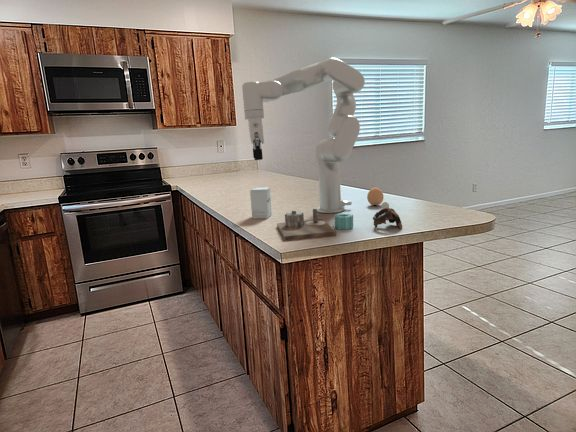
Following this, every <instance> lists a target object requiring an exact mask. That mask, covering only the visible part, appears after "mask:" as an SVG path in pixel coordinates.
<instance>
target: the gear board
mask: <svg viewBox="0 0 576 432" xmlns="http://www.w3.org/2000/svg"><path fill="white" fill-rule="evenodd" d="M276 227H277V229H278V231H279V233H280V234H281V236H282V238H283V240H284V241H285V242H287V241H294V240H304V239H313V238H324V237H335V236H337V235H336V234H337V232H336V230H335V229H334V228H333V227H331V226H330V224H328V223H327V222H326V221H325V220H324V219H322V218H319V219H318V212H317V208H312V219H308V220H305V219H304V212H301V211H297V210H292V211H290V212H286V213H285V214H284V222H277V223H276Z"/></svg>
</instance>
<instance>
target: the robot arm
mask: <svg viewBox="0 0 576 432" xmlns="http://www.w3.org/2000/svg"><path fill="white" fill-rule="evenodd" d="M331 81H332V90H333V92H334V94H335V98H336V104H335V105H336V106H335V108H334V111H333V113H332V115H331V118H330V121H329V122H328V125H327V134H328V135H329V137H331V138H326V139H322V140H320V141H319V142H318V143H317V145H316V146H315V157H316V162H317V170H318V172H317V173H318V194H319V195H318V196H319V199H318V201H319V206H318V207H316V209H317V213H320V214H321V213H324V214H336V213H337V214H338V213H341V212H344V211H345V209H346V208H345V207H346V206H351V205H352V200H343V199H342V198H341V197H342V195H341V192H342V191H341V168H340V165H339V163H342V162H345V161H346V160H347V159H349V157H350V155H351V153H352V151H353V148H354V146H355V144H356V142H357V139H358V138H359V135H360V128H361V127H360V121H359V120H358V118H357V117H356V116H354V115H355V113H356V109H357V101H356V99H355V96H354V94H355V93H359V92H360V91H361V90H363V88H364V86H365V82H366V81H365V77H364V75H363V74H362V73H361V71H359V70H358V69H356V68H355V67H353V66H351V65H349V64H348V63H346V62H345V61H343V60H341V59H339V58H336V57H329V58H327V59H324V60H322V61H318V62H315V63H312V64H309V65H307V66H304V67H300V68H298V69H295V70H292V71H291V72H289V73H286V74H284V75H282V76H280V77H277V78H276V77H275V78H273V79H270V80H266V81H247V82H243V84H242V86H241V88H242V89H241V91H242V101H243V110H244V112H243V113H244V120H247V121H248V122H247V123H248V132H249V138H250V139H249V140H250V142H251V145H252V147H253V148H252V156H253V159H254V160H255V161H262V160H263V159H264V158H263V149H262V145H263V144H265V138H264V126H263V121H262V119H264V118H265V114H264V113H265V111H264V103H268V102H275V101H277V100H279V99H280V98H281V97H284V96H287V95H290V94H295V93H296V94H297V93H300V92H303V91H305V90H308V89H311V88H315V87H317V86H319V85H322V84H324V83H328V82H331Z"/></svg>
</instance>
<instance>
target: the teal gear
mask: <svg viewBox="0 0 576 432" xmlns="http://www.w3.org/2000/svg"><path fill="white" fill-rule="evenodd" d="M333 219H334V228H335V229H337V230H350V229H353V228H354V214H351V213H339V214H338V213H337V214H336V213H335V214H334V218H333Z"/></svg>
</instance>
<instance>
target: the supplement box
mask: <svg viewBox="0 0 576 432" xmlns="http://www.w3.org/2000/svg"><path fill="white" fill-rule="evenodd" d="M249 193H250V194H249V195H250V205H251V206H250V209H251V218H252V219H269V218H270V216H272V214H273V213H272V198H271V187H270V186H267V187H265V186H264V187H263V186H261V187H260V186H259V187H253V188H252V189H250V191H249Z"/></svg>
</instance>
